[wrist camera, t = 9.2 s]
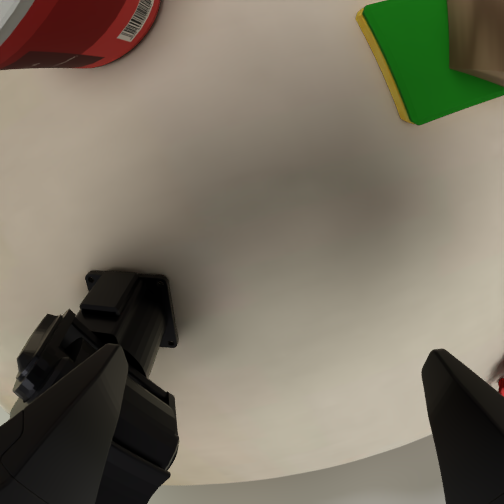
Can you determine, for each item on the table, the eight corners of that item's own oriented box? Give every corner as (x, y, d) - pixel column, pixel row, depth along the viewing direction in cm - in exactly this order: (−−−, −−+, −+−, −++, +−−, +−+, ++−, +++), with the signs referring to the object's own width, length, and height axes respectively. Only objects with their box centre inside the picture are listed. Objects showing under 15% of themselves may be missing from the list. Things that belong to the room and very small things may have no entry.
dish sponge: (349, 15, 14) (361, 6, 12) (501, -10, 10) (521, -15, 8) (398, 122, 17) (415, 127, 14) (534, 77, 13) (554, 80, 11)
